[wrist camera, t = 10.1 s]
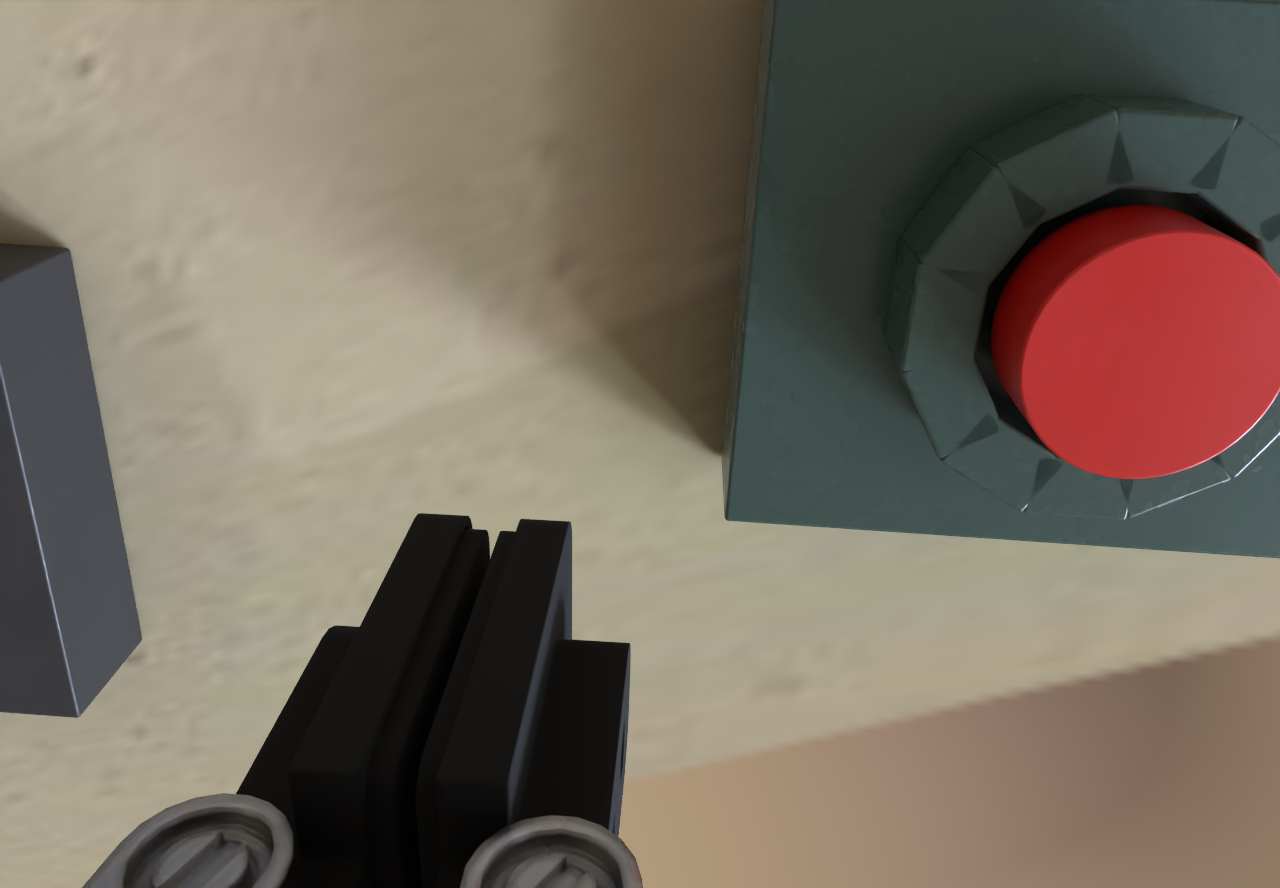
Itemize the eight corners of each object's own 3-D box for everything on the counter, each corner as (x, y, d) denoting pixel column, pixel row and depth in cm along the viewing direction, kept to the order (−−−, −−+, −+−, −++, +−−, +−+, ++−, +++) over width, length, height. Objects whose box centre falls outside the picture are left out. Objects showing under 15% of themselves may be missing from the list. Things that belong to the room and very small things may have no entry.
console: (1266, 498, 23) (1389, 615, 19) (721, 462, 23) (726, 570, 19) (1436, 7, 19) (1640, 21, 15) (767, -30, 19) (785, -27, 15)
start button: (1202, 442, 18) (1250, 488, 16) (970, 426, 18) (996, 471, 17) (1272, 210, 16) (1335, 238, 15) (1016, 195, 16) (1050, 221, 15)
